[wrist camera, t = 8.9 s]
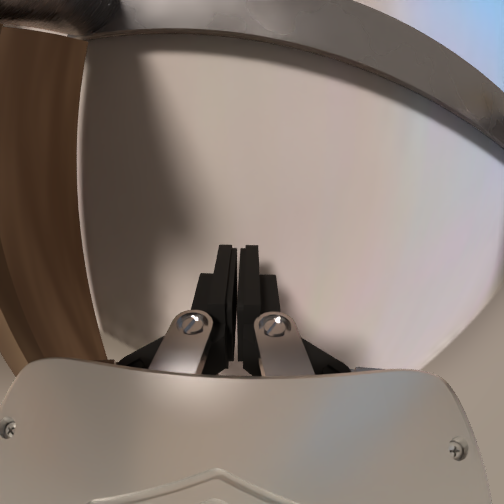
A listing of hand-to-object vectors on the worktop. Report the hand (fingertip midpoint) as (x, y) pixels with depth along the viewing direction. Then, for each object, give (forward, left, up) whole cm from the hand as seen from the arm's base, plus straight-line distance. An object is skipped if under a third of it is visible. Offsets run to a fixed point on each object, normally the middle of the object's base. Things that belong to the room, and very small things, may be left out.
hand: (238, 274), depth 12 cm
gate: (0, -9, 0) cm, 9 cm away
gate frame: (-12, +3, -2) cm, 13 cm away
